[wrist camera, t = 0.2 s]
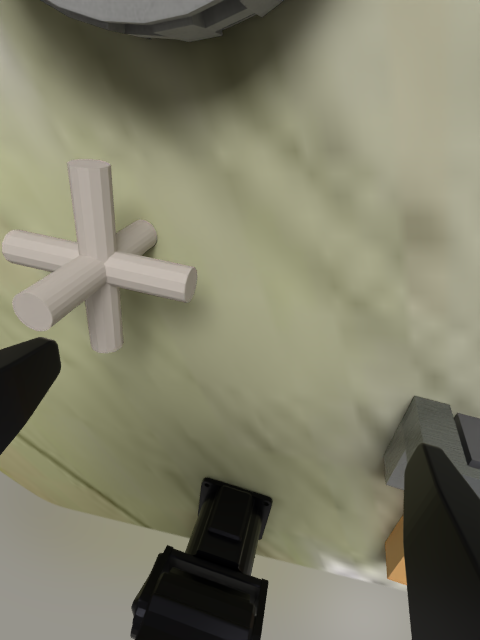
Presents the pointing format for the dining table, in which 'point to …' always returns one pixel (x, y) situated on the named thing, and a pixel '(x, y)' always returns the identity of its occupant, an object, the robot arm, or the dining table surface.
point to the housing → (426, 441)
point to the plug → (476, 444)
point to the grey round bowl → (164, 16)
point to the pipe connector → (93, 263)
